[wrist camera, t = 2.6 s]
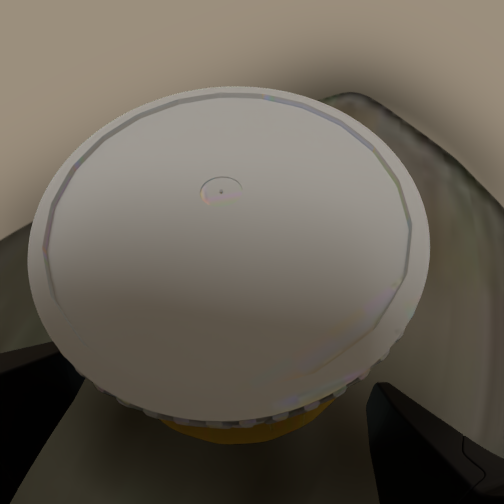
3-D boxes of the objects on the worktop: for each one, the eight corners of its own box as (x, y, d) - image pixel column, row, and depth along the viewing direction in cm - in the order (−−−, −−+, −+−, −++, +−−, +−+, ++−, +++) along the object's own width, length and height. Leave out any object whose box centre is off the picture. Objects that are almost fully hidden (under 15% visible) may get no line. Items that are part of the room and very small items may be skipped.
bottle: (168, 416, 15) (-51, 332, 3) (201, 310, 19) (132, 74, 7) (289, 447, 15) (449, 494, 2) (312, 334, 18) (421, 113, 6)
